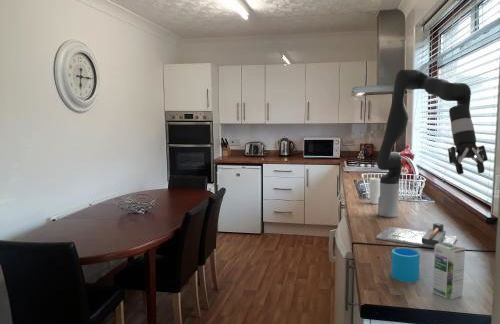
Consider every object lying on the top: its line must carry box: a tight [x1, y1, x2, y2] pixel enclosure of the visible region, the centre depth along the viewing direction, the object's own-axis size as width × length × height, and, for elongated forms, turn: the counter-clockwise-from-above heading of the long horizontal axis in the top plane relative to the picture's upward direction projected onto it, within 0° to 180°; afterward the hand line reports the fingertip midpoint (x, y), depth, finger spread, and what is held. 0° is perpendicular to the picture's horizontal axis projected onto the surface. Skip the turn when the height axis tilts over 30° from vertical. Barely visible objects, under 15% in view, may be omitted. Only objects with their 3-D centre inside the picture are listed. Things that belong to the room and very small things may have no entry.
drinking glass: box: [368, 177, 381, 205], centre depth 229 cm, size 7×7×15 cm
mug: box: [390, 247, 421, 283], centre depth 124 cm, size 12×8×8 cm
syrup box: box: [432, 242, 466, 301], centre depth 109 cm, size 6×6×14 cm
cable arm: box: [422, 222, 446, 245], centre depth 157 cm, size 19×6×4 cm, turn 145°
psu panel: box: [375, 226, 458, 249], centre depth 161 cm, size 28×18×1 cm, turn 55°
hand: (471, 173), depth 144 cm, fingers open, 8 cm apart
